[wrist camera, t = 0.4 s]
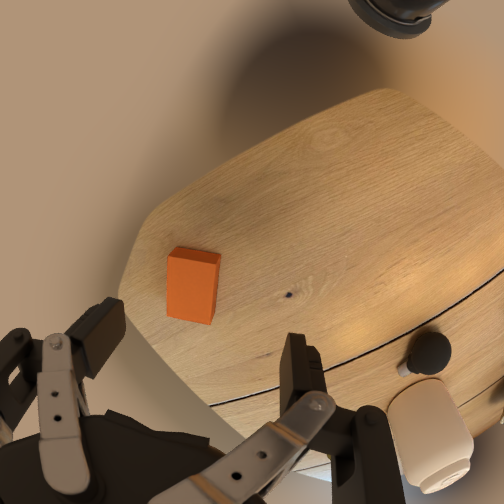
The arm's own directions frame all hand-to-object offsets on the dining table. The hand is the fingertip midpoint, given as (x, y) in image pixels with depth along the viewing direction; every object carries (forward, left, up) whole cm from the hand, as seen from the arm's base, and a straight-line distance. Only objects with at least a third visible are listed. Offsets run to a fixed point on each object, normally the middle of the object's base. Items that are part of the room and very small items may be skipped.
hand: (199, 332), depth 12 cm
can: (+27, +36, -20) cm, 49 cm away
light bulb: (+14, +29, -20) cm, 38 cm away
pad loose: (+8, -5, -20) cm, 22 cm away
